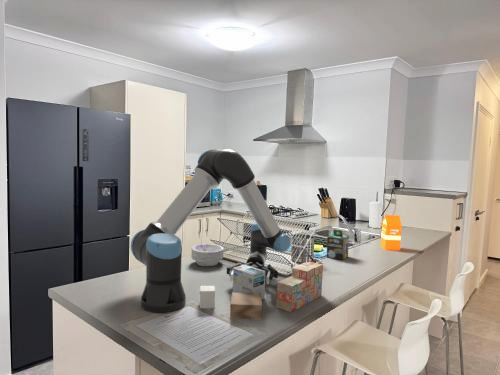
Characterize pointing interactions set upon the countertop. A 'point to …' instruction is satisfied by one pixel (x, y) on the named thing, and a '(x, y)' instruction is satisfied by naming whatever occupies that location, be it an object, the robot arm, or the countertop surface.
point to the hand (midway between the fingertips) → (249, 279)
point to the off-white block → (207, 296)
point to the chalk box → (337, 245)
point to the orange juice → (391, 232)
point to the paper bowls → (207, 254)
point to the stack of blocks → (300, 286)
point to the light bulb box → (249, 280)
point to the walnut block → (246, 306)
